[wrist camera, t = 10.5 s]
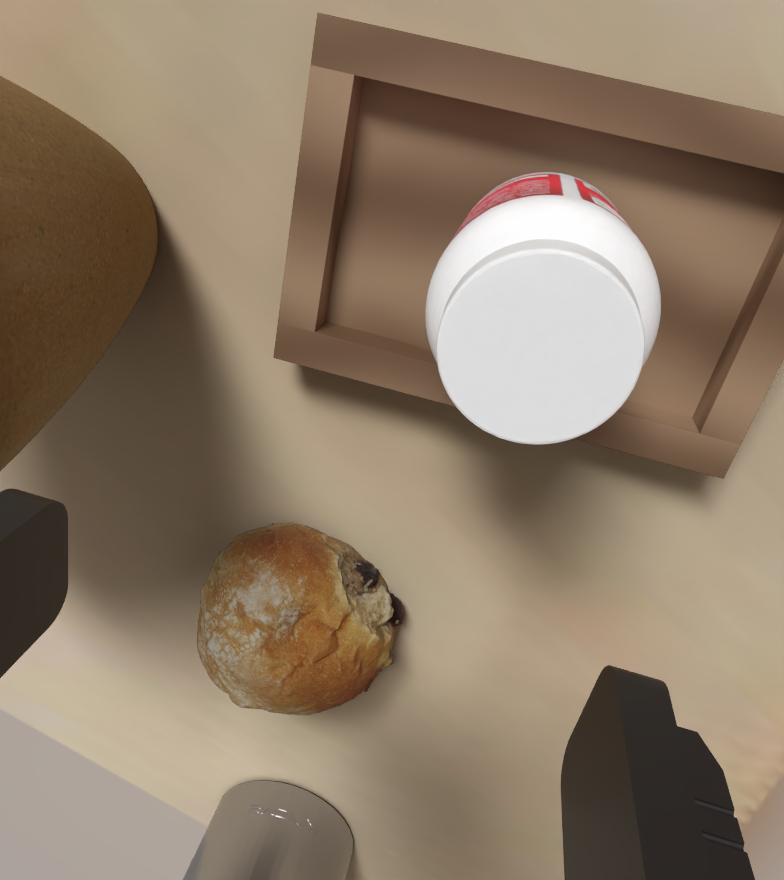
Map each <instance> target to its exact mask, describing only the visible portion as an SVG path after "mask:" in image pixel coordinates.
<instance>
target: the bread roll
mask: <svg viewBox="0 0 784 880" xmlns="http://www.w3.org/2000/svg"><path fill="white" fill-rule="evenodd" d="M200 603H201V605H202V606H201V610H200V615H199V620H198V635H197V647H198V651H199V655H200V658H201V661H202V663H203V665H204V667H205V669H206V671H207V673H208V675H209V677H210V678H211V680H212V681H213V682H214V683H215V684H216V685H217V686H218V687H219V688H220V689H221V690H222V691H224V692H226V693H228V694H229V696H230V699H231V700H232V702H234V703H235V704H236V705H238V706H239V707H243V708H255V709H264V710H267V711H269V712H273V713H282V714H295V715H310V714H314V713H319V712H322V711H325V710H327V709H330V708H334V707H337V706H340V705H342V704H344V703H346V702H348V701H350V700H352V699H354V698H355V697H356V696H357V695H359V694H360V693H362V692H363V691H365V692H367V690H368V688H369V686H370V684H371V683H372V681H373V680H374V678H375V677H376V676H377V675H378V673H379V672H380V671H382V669H383V668H384V667H386V666H388V665H391V664H392V663H393V654H392V648H393V644H394V641H395V637H396V634H397V632H398V626H399V625H400V624H401V623H402V621H403V616H404V608H403V607H402V602H401V601H400V600H399V599H398V598H396V597H395V596H394V595H393V594H391V593H389V592H388V589H387V584H386V582H385V580H384V578H383V577H382V576H381V575H380V574H379V572H378V569H376V568H375V567H374V566H373V564H371V563H370V562H368V561H366V560H365V559H364V558H363V557H362V556H361V555H360V554H359V553H358V552H357V551H356V550H355V549H353V548H352V547H351V546H350V545H348V544H346V543H344V542H342V541H339V540H337V539H335V538H332V537H328V536H327V535H326V534H325V533H322V532H320V531H319V530H316V529H313V528H310V527H308V526H302V525H299V524H296V523H289V524H272V525H270V526H267V527H264V528H261V529H255V530H252V531H249V532H246V533H244V534H242V535H240V536H238V537H237V538H236V539H235V540H234V541H233V542H232V543H231V544H230V545H229V546H228V547H226V548H225V549H224V550H222V551H221V552H220V553H219V556H218V557H217V559H216V560H215V561H214V564H213V567H212V568H211V569H210V574H209V576H208V578H207V582H206V583H205V584H204V586H203V588H202V589H201V601H200Z"/></svg>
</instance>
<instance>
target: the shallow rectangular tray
mask: <svg viewBox="0 0 784 880" xmlns="http://www.w3.org/2000/svg"><path fill="white" fill-rule="evenodd" d="M538 172H554V173H562V174H566V175H570V176H573V177H576V178H579V179H581V180H583V181H585V182H587V183H589V184H591V185H592V186H594V187H595V188H597V189H598V190H599V191H600V192H602V193H603V194H604V195H605V196H606V197H607V198H608V199H609V200H610V202H611V203H612V204H613V205H614V206H615V208H616V209H617V211H618V212H619V213H620V215H621V216H622V217H623V219H624V220H625V221H626V223H627V224H628V225H629V227H630V228H631V229H632V231H634V233H635V234H636V235H637V236H638V237H639V239H640V240H641V241H642V243H643V246H644V247H645V249H646V251H647V252H648V254H649V256H650V258H651V261H652V264H653V266H654V268H655V271H656V275H657V278H658V282H659V288H660V294H661V316H660V323H659V328H658V332H657V336H656V339H655V342H654V345H653V348H652V350H651V352H650V354H649V357H648V358H647V360H646V362H645V364H644V365H643V367H642V369H641V372H640V375H639V378H638V380H637V382H636V385H635V387H634V389H633V390H632V392H631V394H630V395H629V397H628V398H627V400H626V401H625V402H624V404H623V405H622V406H621V407H620V408H619V409H618V410H617V411H616V412H615V413H614V414H613V415H612V416H611V417H610V418H609V419H608V420H606V421H605V422H604V423H602V424H601V425H600V426H598V427H596V428H595V429H593V430H591V431H590V432H588V433H586V434H583V435H581V436H579V437H576V438H574V439H577V440H581V441H585V442H588V443H592V444H596V445H600V446H603V447H607V448H611V449H614V450H618V451H622V452H626V453H629V454H633V455H637V456H640V457H644V458H648V459H652V460H655V461H659V462H663V463H666V464H670V465H674V466H678V467H681V468H685V469H689V470H692V471H696V472H700V473H704V474H707V475H711V476H715V477H718V478H722V479H724V477H725V475H726V473H727V471H728V469H729V467H730V465H731V463H732V461H733V459H734V457H735V455H736V453H737V451H738V449H739V447H740V445H741V443H742V441H743V439H744V437H745V435H746V433H747V431H748V429H749V427H750V425H751V423H752V421H753V419H754V417H755V415H756V413H757V411H758V409H759V407H760V405H761V403H762V401H763V399H764V397H765V395H766V393H767V391H768V389H769V387H770V385H771V383H772V381H773V379H774V377H775V375H776V373H777V371H778V369H779V367H780V365H781V363H782V361H783V359H784V116H781V115H776V114H772V113H767V112H763V111H758V110H754V109H749V108H745V107H740V106H736V105H731V104H727V103H722V102H718V101H713V100H709V99H704V98H700V97H695V96H691V95H686V94H682V93H677V92H673V91H668V90H664V89H659V88H655V87H650V86H646V85H641V84H637V83H632V82H628V81H623V80H619V79H614V78H610V77H605V76H601V75H596V74H592V73H587V72H583V71H578V70H574V69H569V68H565V67H560V66H556V65H551V64H547V63H542V62H538V61H533V60H529V59H524V58H520V57H515V56H511V55H506V54H502V53H497V52H493V51H488V50H484V49H479V48H475V47H470V46H466V45H461V44H457V43H452V42H448V41H443V40H439V39H434V38H430V37H425V36H421V35H416V34H412V33H407V32H403V31H398V30H394V29H389V28H385V27H380V26H376V25H371V24H367V23H362V22H358V21H353V20H349V19H344V18H340V17H335V16H330V15H326V14H321V13H317V20H316V28H315V36H314V44H313V52H312V60H311V67H310V75H309V83H308V91H307V99H306V107H305V115H304V122H303V130H302V138H301V146H300V154H299V162H298V170H297V177H296V185H295V193H294V201H293V209H292V217H291V225H290V232H289V240H288V248H287V256H286V264H285V272H284V279H283V287H282V295H281V303H280V311H279V319H278V327H277V334H276V342H275V350H274V358H276V359H280V360H284V361H288V362H291V363H295V364H299V365H302V366H306V367H310V368H314V369H317V370H321V371H325V372H328V373H332V374H336V375H340V376H343V377H347V378H351V379H354V380H358V381H362V382H366V383H369V384H373V385H377V386H380V387H384V388H388V389H392V390H395V391H399V392H403V393H406V394H410V395H414V396H418V397H421V398H425V399H429V400H432V401H436V402H440V403H444V404H447V405H451V406H455V405H454V403H453V402H452V400H451V399H450V397H449V395H448V394H447V392H446V390H445V388H444V385H443V383H442V380H441V377H440V374H439V370H438V365H437V362H436V360H435V358H434V356H433V353H432V350H431V348H430V344H429V340H428V336H427V330H426V320H425V309H426V299H427V294H428V289H429V285H430V281H431V278H432V275H433V273H434V271H435V268H436V266H437V264H438V261H439V259H440V258H441V256H442V254H443V252H444V250H445V249H446V247H447V246H448V244H449V243H450V241H451V240H452V238H453V237H454V235H455V234H456V232H457V231H458V229H459V228H460V226H461V225H462V223H463V222H464V220H465V219H466V217H467V216H468V214H469V213H470V211H471V210H472V209H473V208H474V206H475V205H476V204H477V203H478V202H479V201H480V200H481V199H482V198H483V197H484V196H485V195H486V194H488V193H489V192H490V191H491V190H493V189H494V188H496V187H497V186H499V185H501V184H502V183H504V182H506V181H508V180H511V179H513V178H516V177H519V176H522V175H526V174H531V173H538ZM455 407H456V406H455Z"/></svg>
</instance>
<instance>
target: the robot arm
mask: <svg viewBox="0 0 784 880" xmlns="http://www.w3.org/2000/svg"><path fill="white" fill-rule="evenodd" d="M67 589H68V517H67V510H66V508H65V506H64V505H63V504H62V503H60V502H57V501H54V500H50V499H47V498H44V497H40V496H37V495H33V494H30V493H27V492H23V491H20V490H16V489H7V490H4V491H2V492H0V678H1V677H2V676H3V675H4V674H5V673H6V671H7V670H8V669H9V668H10V667H11V666H12V665H13V664H14V663H15V662H16V661H17V660H18V659H19V658H20V657H21V656H22V655H23V654H24V653H25V652H26V651H27V650H28V649H29V648H30V647H31V645H32V644H33V643H34V642H35V641H36V640H37V639H38V638H39V637H40V636H41V635H42V634H43V633H44V632H45V631H46V630H47V629H48V628H49V627H50V625H51V624H52V623H53V622H54V620H55V619H56V617H57V616H58V614H59V612H60V610H61V608H62V606H63V603H64V601H65V598H66V594H67ZM561 802H562V827H563V851H564V875H565V880H755V878H754V875H753V871H752V868H751V865H750V861H749V858H748V854H747V853H746V852H744V850H743V847H744V841H743V837H742V834H741V830H740V827H739V824H738V820H737V818H735V817H734V806H733V803H732V800H731V796H730V793H729V789H728V786H727V783H726V779H725V776H724V772H723V770H722V768H721V767H720V765H719V764H718V762H717V761H716V759H715V758H714V756H713V755H712V753H711V752H710V750H709V749H708V747H707V746H706V744H705V743H704V741H703V740H702V738H701V737H700V735H699V734H698V732H695V731H692V730H688V729H685V728H682V727H678V726H677V724H676V720H675V716H674V712H673V708H672V703H671V699H670V695H669V691H668V688H667V686H666V684H665V683H664V682H663V681H661V680H658V679H654V678H651V677H647V676H644V675H641V674H637V673H634V672H630V671H627V670H624V669H620V668H617V667H613V666H610V665H609V666H606V667H605V668H604V669H603V670H602V672H601V673H600V675H599V677H598V679H597V681H596V684H595V686H594V688H593V690H592V692H591V694H590V696H589V698H588V701H587V703H586V705H585V707H584V709H583V711H582V713H581V715H580V717H579V720H578V722H577V724H576V726H575V728H574V730H573V732H572V734H571V737H570V739H569V741H568V744H567V747H566V751H565V755H564V760H563V766H562V774H561ZM352 852H353V838H352V835H351V832H350V829H349V827H348V826H347V824H346V822H345V821H344V819H343V818H342V817H341V816H340V815H339V814H338V813H337V811H336V810H335V809H334V808H333V807H331V806H330V805H329V804H327V803H326V802H325V801H324V800H322V799H321V798H319V797H317V796H315V795H314V794H312V793H310V792H308V791H306V790H303V789H301V788H298V787H296V786H293V785H289V784H285V783H281V782H274V781H250V782H246V783H243V784H239V785H237V786H235V787H233V788H231V789H230V790H229V791H228V792H227V793H226V794H225V795H224V796H223V797H222V799H221V801H220V803H219V805H218V807H217V809H216V811H215V814H214V816H213V818H212V820H211V822H210V824H209V826H208V828H207V830H206V833H205V835H204V837H203V839H202V841H201V843H200V845H199V847H198V849H197V851H196V854H195V856H194V858H193V859H192V861H191V863H190V866H189V868H188V870H187V872H186V874H185V877H184V879H183V880H345V879H346V875H347V871H348V868H349V864H350V860H351V856H352Z"/></svg>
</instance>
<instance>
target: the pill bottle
mask: <svg viewBox="0 0 784 880" xmlns="http://www.w3.org/2000/svg"><path fill="white" fill-rule="evenodd" d="M660 316H661V294H660V288H659V282H658V278H657V275H656V271H655V268H654V266H653V264H652V261H651V258H650V256H649V254H648V252H647V251H646V249H645V247H644V246H643V243H642V241H641V240H640V239H639V237H638V236H637V235H636V234H635V233H634V231H632V229H631V228H630V227H629V225H628V224H627V223H626V221H625V220H624V219H623V217H622V216H621V215H620V213H619V212H618V211H617V209H616V208H615V206H614V205H613V204H612V203H611V202H610V200H609V199H608V198H607V197H606V196H605V195H604V194H603V193H602V192H600V191H599V190H598V189H597V188H595V187H594V186H592V185H591V184H589V183H587V182H585V181H583V180H581V179H579V178H576V177H573V176H570V175H566V174H562V173H554V172H538V173H531V174H526V175H522V176H519V177H516V178H513V179H511V180H508V181H506V182H504V183H502V184H501V185H499V186H497V187H496V188H494V189H493V190H491V191H490V192H489V193H488V194H486V195H485V196H484V197H483V198H482V199H481V200H480V201H479V202H478V203H477V204H476V205H475V206H474V208H473V209H472V210H471V211H470V213H469V214H468V216H467V217H466V219H465V220H464V222H463V223H462V225H461V226H460V228H459V229H458V231H457V232H456V234H455V235H454V237H453V238H452V240H451V241H450V243H449V244H448V246H447V247H446V249H445V250H444V252H443V254H442V256H441V258H440V259H439V261H438V264H437V266H436V268H435V271H434V273H433V275H432V278H431V281H430V285H429V289H428V294H427V299H426V309H425V320H426V330H427V336H428V340H429V344H430V348H431V350H432V353H433V356H434V358H435V360H436V362H437V365H438V370H439V374H440V377H441V380H442V383H443V385H444V388H445V390H446V392H447V394H448V395H449V397H450V399H451V400H452V402H453V403H454V405H455V406H456V407H457V408H458V409H459V410H460V412H461V413H462V414H463V415H464V416H465V417H466V418H467V419H468V420H470V421H471V422H472V423H473V424H475V425H476V426H478V427H479V428H481V429H482V430H484V431H485V432H487V433H489V434H492V435H494V436H496V437H499V438H501V439H504V440H507V441H511V442H516V443H522V444H537V445H539V444H552V443H558V442H563V441H567V440H570V439H573V438H576V437H579V436H581V435H583V434H586V433H588V432H590V431H591V430H593V429H595V428H596V427H598V426H600V425H601V424H602V423H604V422H605V421H606V420H608V419H609V418H610V417H611V416H612V415H613V414H614V413H615V412H616V411H617V410H618V409H619V408H620V407H621V406H622V405H623V404H624V402H625V401H626V400H627V398H628V397H629V395H630V394H631V392H632V390H633V389H634V387H635V385H636V382H637V380H638V378H639V375H640V372H641V369H642V367H643V365H644V364H645V362H646V360H647V358H648V357H649V354H650V352H651V350H652V348H653V345H654V342H655V339H656V336H657V332H658V328H659V323H660Z"/></svg>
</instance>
